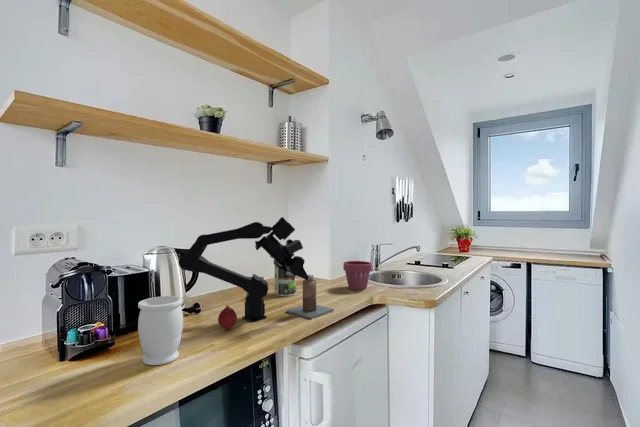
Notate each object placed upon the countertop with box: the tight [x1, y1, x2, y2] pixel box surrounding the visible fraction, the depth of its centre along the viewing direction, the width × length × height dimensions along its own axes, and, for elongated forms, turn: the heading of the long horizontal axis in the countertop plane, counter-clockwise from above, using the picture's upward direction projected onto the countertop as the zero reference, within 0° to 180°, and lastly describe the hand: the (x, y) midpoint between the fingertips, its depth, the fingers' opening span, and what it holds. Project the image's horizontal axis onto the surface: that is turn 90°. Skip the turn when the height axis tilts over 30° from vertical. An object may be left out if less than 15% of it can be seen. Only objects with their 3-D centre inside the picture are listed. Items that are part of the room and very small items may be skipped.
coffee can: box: [273, 264, 297, 297], centre depth 152 cm, size 10×10×14 cm
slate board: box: [285, 304, 335, 320], centre depth 123 cm, size 13×13×1 cm
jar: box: [137, 295, 184, 366], centre depth 83 cm, size 11×10×15 cm
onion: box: [217, 304, 238, 331], centre depth 104 cm, size 6×6×8 cm
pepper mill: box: [302, 274, 317, 312], centre depth 123 cm, size 5×5×13 cm
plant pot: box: [342, 260, 373, 291], centre depth 164 cm, size 14×14×13 cm
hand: (302, 276), depth 122 cm, fingers open, 9 cm apart
